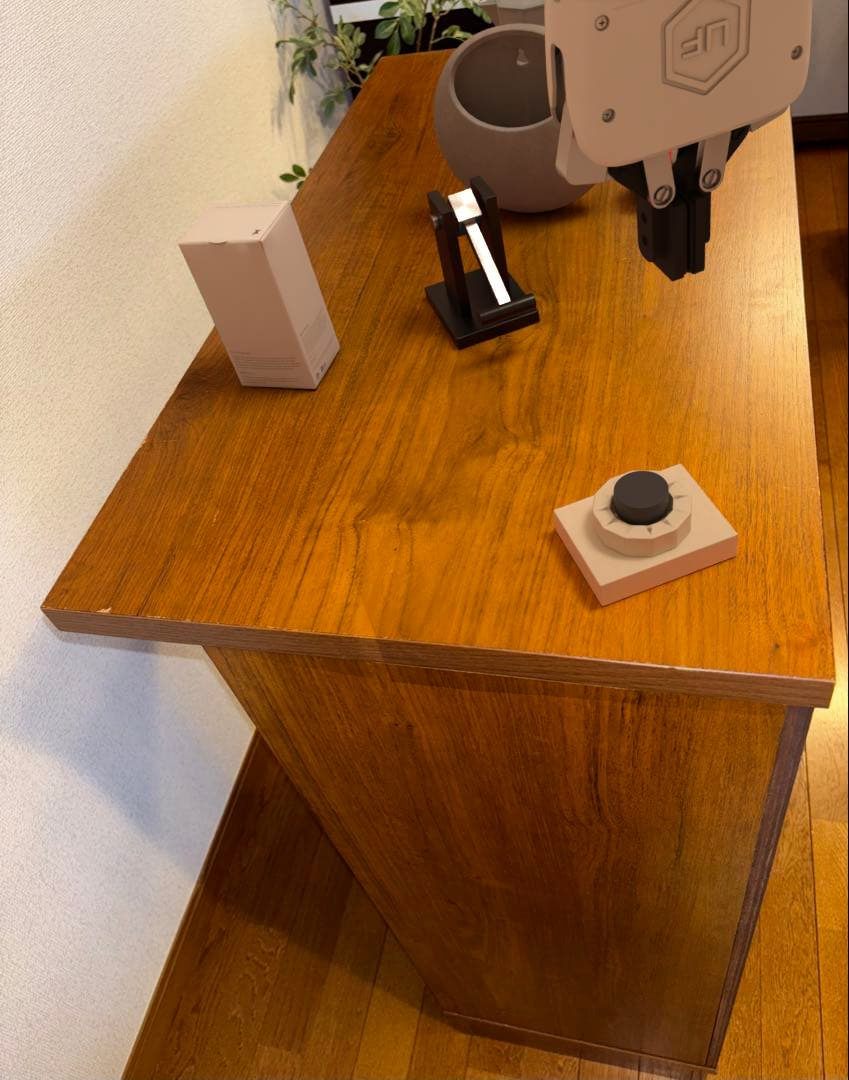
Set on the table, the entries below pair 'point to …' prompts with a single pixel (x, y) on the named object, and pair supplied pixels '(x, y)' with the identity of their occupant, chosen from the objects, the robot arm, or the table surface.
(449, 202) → the lever
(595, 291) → the table surface
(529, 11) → the coffee maker
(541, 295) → the table surface
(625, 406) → the table surface
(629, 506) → the button
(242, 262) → the cosmetic box
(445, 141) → the planter
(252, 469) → the table surface
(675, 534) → the block
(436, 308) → the bracket
